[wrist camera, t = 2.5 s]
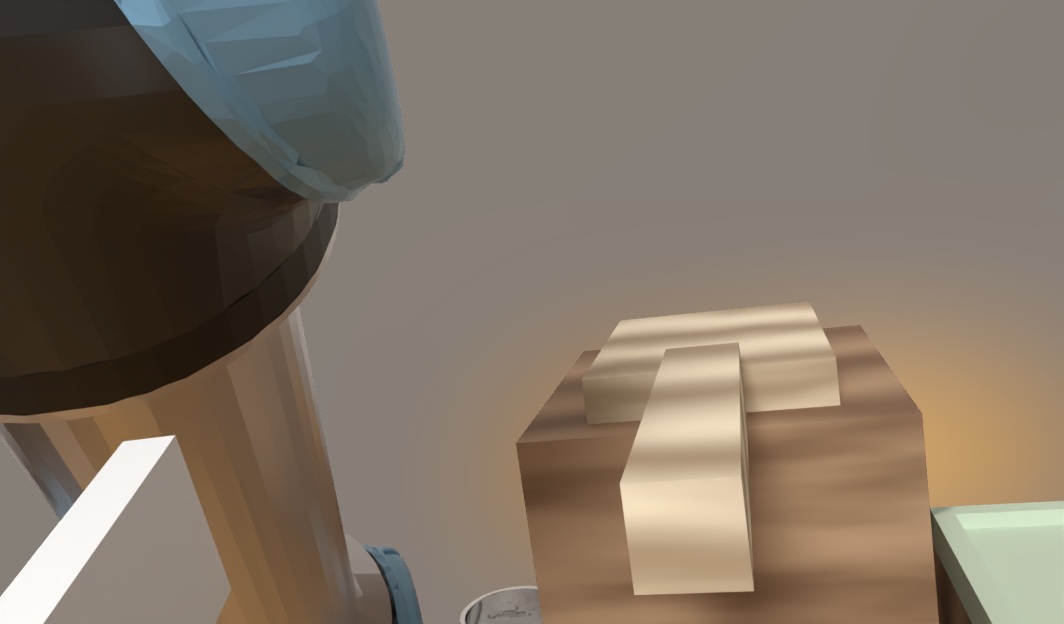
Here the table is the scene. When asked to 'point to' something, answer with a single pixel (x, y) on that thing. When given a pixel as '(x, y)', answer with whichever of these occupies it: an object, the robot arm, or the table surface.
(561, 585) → the tall crate
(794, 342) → the cream cross-shaped block
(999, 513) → the tray
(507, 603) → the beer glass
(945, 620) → the wooden box
